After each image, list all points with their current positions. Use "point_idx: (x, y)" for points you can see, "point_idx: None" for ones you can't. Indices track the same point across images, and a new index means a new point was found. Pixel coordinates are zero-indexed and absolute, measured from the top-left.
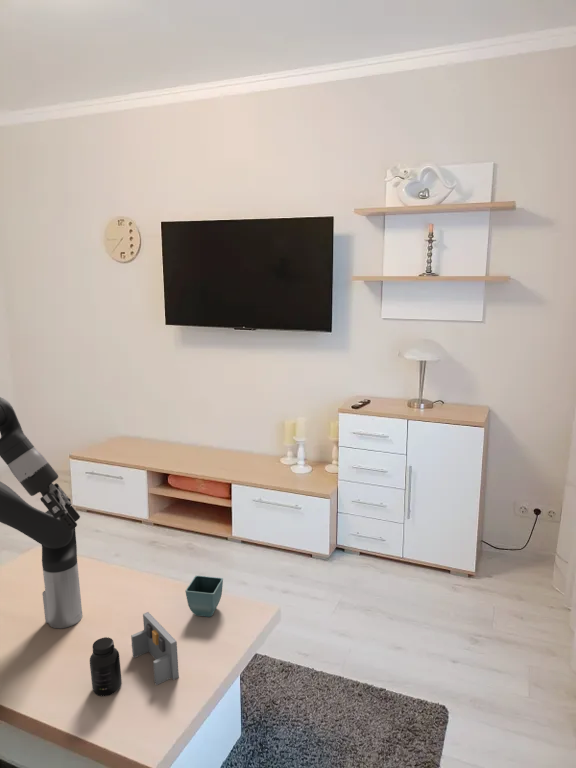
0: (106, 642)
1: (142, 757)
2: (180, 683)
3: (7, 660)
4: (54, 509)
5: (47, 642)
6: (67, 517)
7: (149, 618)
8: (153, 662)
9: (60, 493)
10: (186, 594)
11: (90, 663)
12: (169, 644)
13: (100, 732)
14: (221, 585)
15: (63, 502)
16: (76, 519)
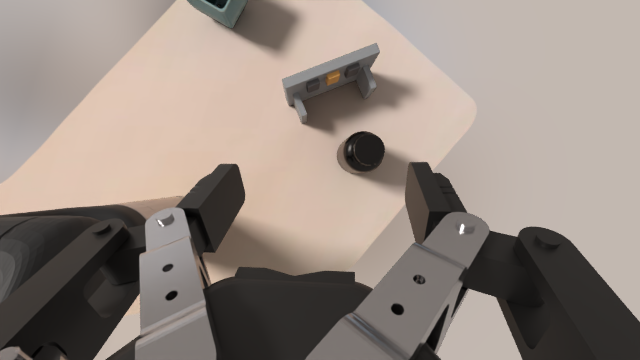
0: (368, 144)
1: (470, 119)
2: (373, 68)
3: None
4: (449, 322)
5: (233, 240)
6: (463, 211)
7: (302, 78)
8: (372, 88)
9: (354, 335)
10: (226, 14)
11: (371, 170)
12: (373, 56)
13: None
14: None
15: (452, 262)
16: (240, 181)
